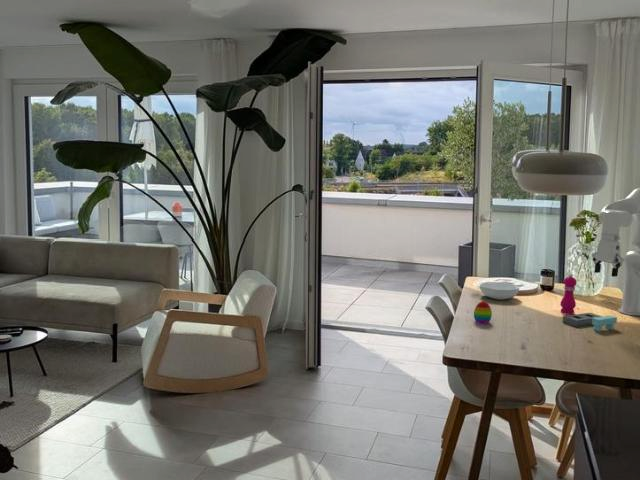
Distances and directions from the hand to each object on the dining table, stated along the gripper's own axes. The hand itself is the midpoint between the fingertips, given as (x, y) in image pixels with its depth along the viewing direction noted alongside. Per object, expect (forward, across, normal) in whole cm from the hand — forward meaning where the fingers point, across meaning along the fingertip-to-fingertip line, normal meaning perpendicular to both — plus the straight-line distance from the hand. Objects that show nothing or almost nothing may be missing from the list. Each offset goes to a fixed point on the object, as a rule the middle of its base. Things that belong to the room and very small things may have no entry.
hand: (605, 274), depth 305 cm
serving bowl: (+24, +62, +8) cm, 67 cm away
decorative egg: (+27, +26, +48) cm, 61 cm away
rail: (+25, +8, +3) cm, 26 cm away
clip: (+25, -4, +2) cm, 25 cm away
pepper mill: (+24, +24, -4) cm, 34 cm away
